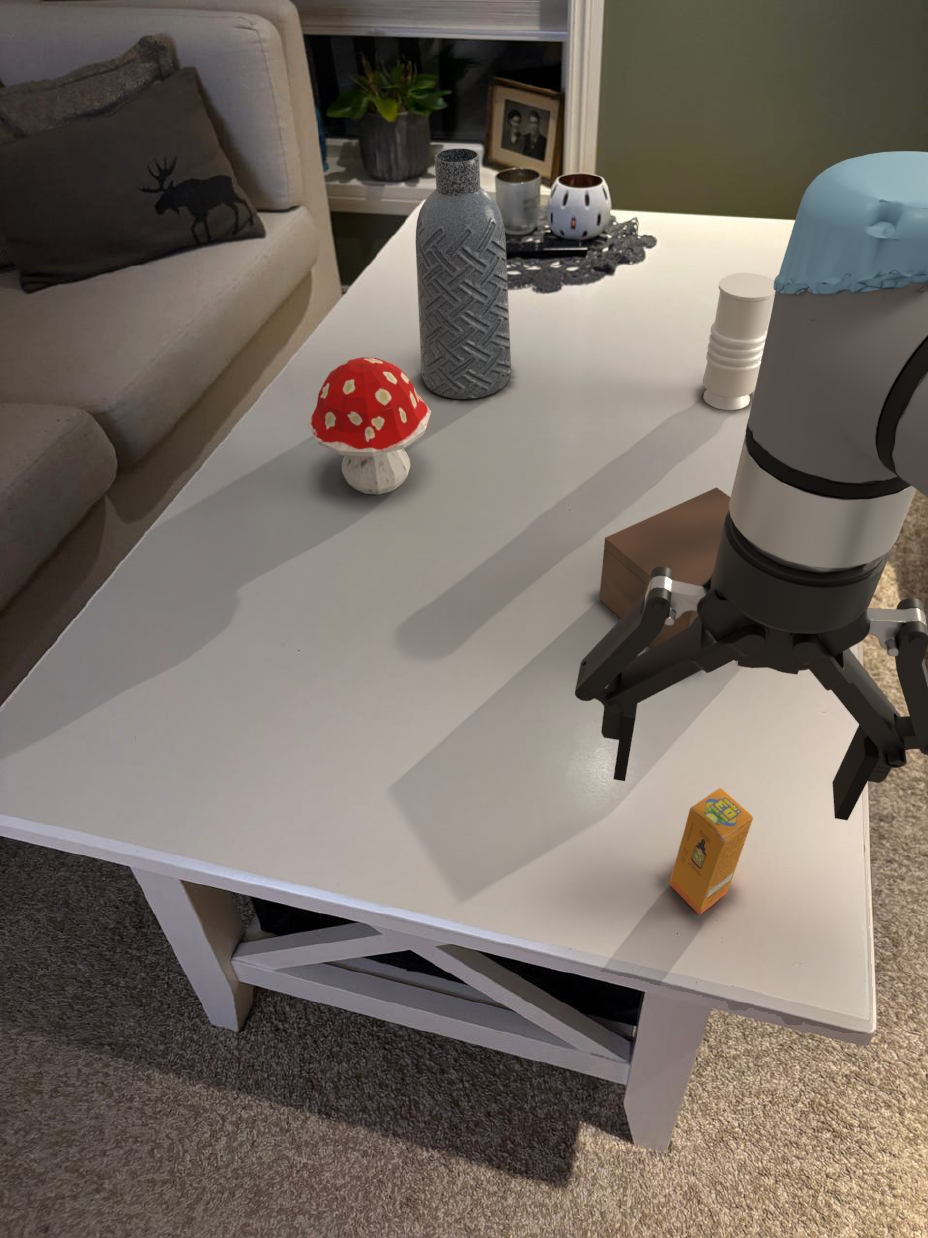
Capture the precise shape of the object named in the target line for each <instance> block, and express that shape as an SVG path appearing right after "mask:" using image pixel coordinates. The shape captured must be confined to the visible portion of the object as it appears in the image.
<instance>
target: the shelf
mask: <svg viewBox="0 0 928 1238" xmlns="http://www.w3.org/2000/svg"><path fill="white" fill-rule="evenodd" d="M730 497H731V495H730V496H729V494H727V493H725V492H724V491H722V490H721V489H719V488H718V487H717V486H716V487H714V488H711V489H710V490H708V491H705V492H702V493H701V494H698V495H696V496H694V497H692V498H690V499H688V500H685V501H682V502H681V503H678V504H676V505H674V506H673V507H672V506H671V507H670V508H668V509H665V510H663V511H661V512H658V513H656V514H654V515H652V516H650V517H648V518H646V519H643V520H641V521H639V522H636V523H634V524H632V525H630V526H628V527H625V528H623V529H621V530H619V531H616V532H614V533H612V534H610V535H608V536H606V537H604V543H603V554H602V566H601V576H600V585H599V586H600V587H599V595H598V596H599V597H598V599H599V601H600V602H602V604H604V605H605V606H606V607H607V608H608V609H609V610H610V611H611V612H612V613H614V614H615V615H616V616H617V617H618V618H619V620H620V619H621V618H622V617H623V616H624V615H625V614H626V613H627V612H628V611H629V610H630V609H631V608H632V607H633V605H634V604H635V603H636V602H637V601H638V600H639V599H640V598H641V597H642V596H643V595H644V593H645V590H646V586H647V583H648V580H649V577H650V574H651V572H652V570H653V569H654V568H656V567H660V566H663V567H667V568H669V569H670V570H672V572H673V580H674V581H679V582H683V583H688V584H693V585H697V586H702V585H703V584H704V583H705V582H706V581H707V580H708V579H709V578H710V577H711V575H712V574H713V571H714V567H715V562H716V558H717V553H718V549H719V544H720V540H721V535H722V531H723V527H724V522H725V518H726V515H727V512H728V511H729V502H730ZM697 616H698V614H697V611H687V612H684V613H683V614H682V615H681V616H680V617H679V618H678V619H676V620H675V623H674V624H673V625H666V624H664V626H663V628H662V630H661V631H660V633H659V634H658V636H657V637H656V638H655V639H654V640H653V641H652V642H651V643H650V644H649V645H648V646H649V647H650V649H651V648H653V647H655V646H657V645H658V644H660V643H662V642H664V641H665V640H667V639H669V638H671V637H672V636H674V635H676V634H678V633H679V632H681V631H683V630H685V629H686V628H688V627H690V625H691V624H692V623H693V621H694V619H695V618H696V617H697Z"/></svg>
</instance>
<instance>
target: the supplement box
mask: <svg viewBox="0 0 928 1238" xmlns="http://www.w3.org/2000/svg"><path fill="white" fill-rule="evenodd" d="M753 820H754V816H753V815H752V814H751V813H750V812H749V811H748V810H746V809H745V808H744V807H743V806H742V805H741V804H740V803H739V802H738V801H736V800H735V799H734V798H733V797H732V796H731V795H730V794H729V793H728V792H726V790H724V789H723V788H722V787H719V788H718V789H716V790H714V791H713V792H711V793H709V794H708V795H707V796H706V797H704V798H702V799H701V800H700V801H698V802H697V803H695V804H693V805H692V806H690V807H689V810H688V814H687V818H686V822H685V826H684V830H683V832H682V833H683V834H682V837H681V840H680V843H679V847H678V852H677V855H676V857H675V862H674V865H673V869H672V872H671V876H670V879H669V885H670V887H671V888H672V889H673V890H674V891H676V893H677V894H678V895H679V896H680V897H681V898H682V899H683V900H684V901H685V902H686V903H687V904H688V905H689V906H690V907H691V908H692V910H693V911H694V912H695V913H696V914H698V915H702V914H703V913H704V912H705V911H707V910H708V909H709V908H711V907H712V906H714V904H715V903H717V902H718V901H720V899H722V898H723V897H724V896H725V895H727V894H728V891H729V888H730V886H731V883H732V880H733V877H734V875H735V872H736V868H737V866H738V864H739V860H740V857H741V854H742V852H743V848H744V846H745V843H746V840H747V838H748V834H749V831H750V829H751V826H752V822H753Z"/></svg>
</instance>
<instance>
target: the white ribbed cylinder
mask: <svg viewBox="0 0 928 1238" xmlns="http://www.w3.org/2000/svg"><path fill="white" fill-rule="evenodd" d="M774 280H775V279H774ZM774 280H773V278H771V277H769V276H766V275H762V274H759V273H753V272H737V273H731V274H728V275H725V276H724V277H722V278H720V279H719V281H718V290H719V294H718V302H717V307H716V312H715V318H714V322H713V323H712V325H711V326H710V334H709V337H708V344H707V351H706V355H705V357H706V366H705V370H704V373H703V376H702V385H703V387H704V388H705V391H704V393H703V400H704V402H705V403H706V404H707V405H709V406H711V407H712V408H716V409H719V410H724V411H735V410H740V409H743V408H745V407H747V406H748V405H750V403H751V397H750V395H751V394H752V393H754V392H755V387H756V382H757V378H758V373H759V368H760V364H761V359H762V354H763V350H764V345H765V340H766V336H767V331H768V326H769V322H770V317H771V312H772V307H773V301H774V296H775V291H776V290H774V288H773V287H774Z"/></svg>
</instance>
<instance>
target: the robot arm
mask: <svg viewBox="0 0 928 1238" xmlns="http://www.w3.org/2000/svg"><path fill="white" fill-rule="evenodd" d="M807 186H808V187H807V188H806V189H805V191H804V192H803V195H802V198H801V200H800V204H799V207H798V209H797V213H796V217H795V219H794V222H793V223H794V224H793V226H792V230H791V233H790V236H789V239H788V242H787V246H786V250H785V253H784V256H783V259H782V262H781V266H780V269H779V272H778V274H777V276H775V278H774V287H773V288H774V290H776V291H775V295H774V298H773V303H772V307H771V312H770V317H769V321H768V326H767V328H768V331H767V336H766V340H765V345H764V350H763V354H762V359H761V364H760V367H759V371H758V378H757V382H756V387H755V391H753V397H752V401H751V406H750V410H749V416H748V419H747V422H746V429H745V435H744V438H743V441H742V447H741V450H740V455H739V459H738V464H737V468H736V471H735V472H736V473H735V476H734V481H733V485H732V490H731V492H730V502H729V511H728V512H727V515H726V518H725V522H724V527H723V531H722V535H721V540H720V544H719V549H718V553H717V558H716V562H715V567H714V571H713V574H712V575H711V577H710V578H709V579H708V580H707V581H706V582H705V583H704V584H703V585H702V586H697V585H693V584H688V583H683V582H679V581H674V580H673V572H672V570H670V569H669V568H667V567H663V566H660V567H656V568H654V569H653V570H652V572H651V574H650V577H649V580H648V583H647V586H646V590H645V593H644V595H643V596H642V597H641V598H640V599H639V600H638V601H637V602H636V603H635V604H634V605H633V607H632V608H631V609H630V610H629V611H628V612H627V613H626V614H625V615H624V616H623V617H622V618H621V619H620V618H619V620H618V621H617V622H616V624H614V625H613V627H612V628H611V629H610V630H609V631H607V633H606V634H605V635H604V636H603V637H602V638H601V639H600V640H599V642H597V644H596V645H595V646H594V647H593V648H592V649H591V650H590V651H589V652H588V653H587V655H585V657H583V659H581V661H580V663H579V668H578V669H579V670H578V674H577V680H576V684H575V690H574V696H575V697H576V698H577V699H578V700H579V701H583V702H591V701H593V700H596V701H598V702H600V703H601V704H602V706H603V714H602V722H601V731H600V733H601V735H602V737H603V738H604V739H610V740H614V741H615V740H617V741H618V744H617V751H616V757H615V765H614V772H613V778H612V779H613V780H615V781H621V782H626V780H627V779H626V778H627V774H628V773H627V772H628V766H629V760H630V753H631V747H632V742H633V735H634V729H635V723H636V718H637V711H638V710H637V709H638V704H640V703H641V702H643V701H645V700H647V699H649V698H651V697H653V696H655V695H657V694H659V693H661V692H663V691H664V690H666V689H668V688H670V687H672V686H674V685H676V684H678V683H679V682H682V681H683V680H686V679H687V678H689V677H691V676H693V675H695V674H697V673H699V672H701V671H703V672H704V673H705V674H706V673H707V674H709V673H712V672H713V671H715V670H718V669H720V668H721V667H723V666H725V665H727V664H729V663H731V662H733V661H735V662H737V667H741V668H742V667H743V668H750V669H765V668H767V669H771V670H774V671H776V672H780V673H782V674H783V673H784V674H790V675H798V674H799V672H801V671H802V672H803V671H807V670H809V671H810V672H811V674H813V676H814V678H816V680H817V681H818V682H819V684H821V686H822V687H823V688H824V689H825V691H832V693H833V694H834V696H836V698H837V699H838V701H840V703H841V704H842V705H843V706H844V708H845V710H847V712H848V713H849V714H850V715H851V716H852V718H853V719H854V720H855V722H857V724H858V726H857V728H856V730H855V733H854V734H853V737H852V739H851V741H850V743H849V745H848V748H847V750H846V752H845V754H844V756H843V758H842V760H841V763H840V765H839V767H838V769H837V772H836V774H835V776H834V777H833V780H832V782H831V783H832V798H833V813H834V819H837V820H841V821H847V822H848V821H849V818H850V817H851V815H852V813H853V811H854V809H855V807H856V805H857V803H858V802H859V799H860V798H861V795H862V793H863V791H864V789H865V787H866V785H867V784H868V782H870V783H877V784H881V783H882V782H884V781H885V780H886V779H887V777H888V775H890V772H891V770H892V769H899V768H903V767H905V766H906V765H907V762H908V759H907V753H906V751H910V750H919V752H920V753H921V754H923V755H924V756H928V669H927V665H926V663H925V662H926V661H925V659H924V658H925V655H926V652H927V649H928V624H927V623H928V622H927V618H926V613H925V606H924V603H923V602H922V600H920V599H918V598H917V597H915V598H914V597H907V598H904V599H902V600H901V601H899V602H898V603H897V605H896V608H878V607H877V608H876V607H869V606H870V605H871V602H872V600H873V597H874V595H875V593H876V590H877V587H878V585H879V583H880V580H881V578H882V576H883V573H884V570H885V568H886V566H887V563H888V560H889V558H890V555H891V549H892V547H893V546H894V545H895V543H896V542H897V540H898V537H899V536H900V534H901V530H902V528H903V525H904V522H905V520H906V518H907V515H908V513H909V510H910V507H911V504H912V501H913V499H914V496H915V495H916V492H917V491H918V492H920V493H921V494H922V495H923V496H925V497H926V498H928V152H927V151H914V150H913V151H912V150H911V151H910V150H909V151H908V150H907V151H904V150H903V151H902V150H899V151H883V152H882V151H881V152H875V153H868V154H865V155H860V156H856V157H852V158H848V159H847V158H846V159H845V160H841V161H839V162H838V163H835V164H833V165H832V166H830V167H828V168H826V169H824V171H822V172H821V173H819V174H818V175H817V176H816V177H815V178H813V180H812V181H811V183H810V184H809V185H807ZM687 611H697V614H698V616H697V617H696V618H695V619H694V621H693V623H692V624H691V625H690V627H688V628H686V629H685V630H683V631H681V632H679V633H678V634H676V635H674V636H672V637H671V638H669V639H667V640H665V641H664V642H662V643H660V644H658V645H657V646H655V647H653V648H651V647H650V648H649V649H648V650H646V651H645V649H646V648H648V646H649V644H650V643H651V642H652V641H653V640H654V639H655V638H656V637H657V636H658V634H659V633H660V631H661V630H662V628H663V626H664V624H666V625H673V624H674V623H675V620H676V619H678V618H679V617H680V616H681V615H682V614H683V613H684V612H687ZM868 635H871V636H873V637H875V638H876V639H877V640H878V643H879V646H880V648H882V649H883V650H885V651H886V654H887V655H888V656H890V657H894V661H895V662H894V663H895V668H896V675H897V678H898V681H899V683H900V688H901V692H902V695H903V698H904V702H905V705H906V709H907V712H908V715H906V716H904V715H903V716H901V714H900V712H899V711H898V709H896V707H895V706H894V705H893V703H892V702H891V701H890V699H888V697H887V696H886V694H885V693H884V692H883V690H882V688H880V686H879V685H878V684H877V682H876V681H875V680H874V678H873V677H872V675H870V673H869V672H868V670H867V669H866V668H865V667H864V665H862V663H861V662H860V661H859V659H858V658H857V657H856V655H855V654H854V653H853V652H852V650H851V648H852V647H854V646H856V645H858V644H859V643H861V642H863V641H864V640H865V639H866V638H867V636H868ZM643 651H644V652H643ZM642 652H643V653H642Z"/></svg>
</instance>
